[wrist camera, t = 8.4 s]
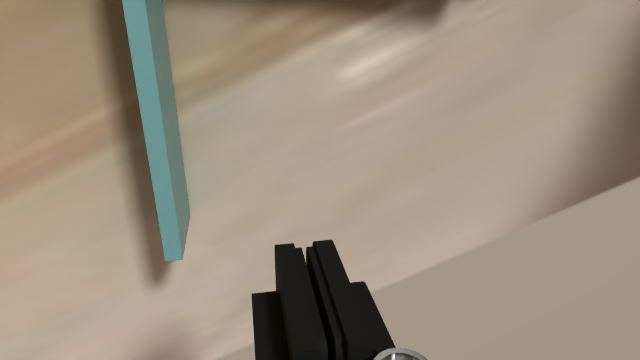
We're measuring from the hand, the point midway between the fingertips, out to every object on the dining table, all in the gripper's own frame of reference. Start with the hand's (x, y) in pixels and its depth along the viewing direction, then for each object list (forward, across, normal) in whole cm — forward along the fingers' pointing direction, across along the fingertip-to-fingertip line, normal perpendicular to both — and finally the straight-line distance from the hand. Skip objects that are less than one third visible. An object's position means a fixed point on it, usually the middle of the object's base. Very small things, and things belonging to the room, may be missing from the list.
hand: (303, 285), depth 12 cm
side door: (+18, +6, -3) cm, 20 cm away
